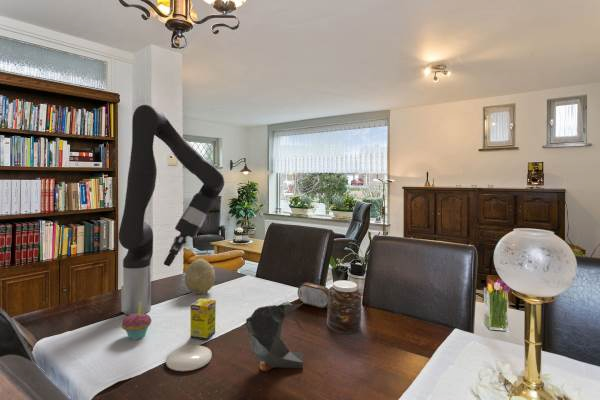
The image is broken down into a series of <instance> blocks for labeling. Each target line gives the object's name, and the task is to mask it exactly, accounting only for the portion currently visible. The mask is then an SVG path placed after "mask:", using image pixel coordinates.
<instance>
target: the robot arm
mask: <svg viewBox="0 0 600 400" xmlns="http://www.w3.org/2000/svg"><path fill="white" fill-rule="evenodd" d="M131 122H132V123H131V124H132V127H131V128H132V129H131V131H132V132H131V139H132V140H131V151H130V157H129V166H128V173H127V180H126V181H127V182H126V193H125V200H124V210H123V213H122V218H121V222H120V226H119V231H118V241H119V243H120V245H121V246H122V247H123V248H124V249H126V250H127V253H126V255H125V257H124V258H123V259H122V276H123V278H122V279H123V280H122V281H123V283H122V284H123V285H121V287H120V290H121V291H120V295H121V297H120V298H121V301H120V303H121V312H122V313H124V315H127V316H129V315H131V314H135V313H139V304H140V302H141V300H142V307H141V313H144V314H147V313H148V312H150V311H151V309H152V284H151V283H152V281H151V278H152V274H151V271H152V269H151V268H152V267H151V266H152V265H151V262H152V257H153V253H154V251H153V250H154V247H153V246H154V232H153V228H152V227H151V225H150V224H149V223H147V222H145V214H146V210H147V208H148V205H149V203H150V201H151V198H152V197H153V194H154V192H155V188H156V181H157V174H158V173H157V171H158V170H157V163H156V158H155V154H154V141H155V140H154V139H155V137H156V138H158V139H159V140H161V141H162V142H163V143H164V144H165V145H166V146H167V147H168V148H169V149H170V150H171V152H172V154H173V155H174V156H175V158H176V159H177V160H178V162H179V163H181V165H182V166H183V167H185V168H186V169H187V170H188V172H190V173H191V174H192V175H195V176H196V178H197V179H198V180H199V181H200V182H201V183H202V186H201V187H200V190H199V191H198V192H197V193H195V194H194V196H193V197H192V198H191V201H190V203H189V204H188V206H187V207H186V208H185V210H184V211H183V213H182V215H181V217H180V219H179V220H178V222H177V223H176V226H175V228H174V229H175V231H177V232H179V235H178V236H175V238H174V239H173V242H172V244H171V246H170V249H169V252H168V255H166V258H165V260H164V262H163V265H165V266H167V267H170V266H171V265H172V264H173V262H174V260H175V258H176V256H178V255H179V252H181V251H182V249H183V248H184V247H185V245H186V243H187V237H189V238H192V239H195V238H196V237H197V235H198V233H199V231H200V229H201V228H202V226H203V224H204V222H205V220H206V217H207V215H208V213H209V211H210V210H211V208H212V206H213V204H214V202H215V201H216V199H217V198H218V196H219V195H220V194H221V193H222V190H223V189H224V186H225V179H224V176H223V174H222V173H221V171H219V169H217V168H216V167H215V166H214V165H212V164H211V163H210V162H208V160H206V159H205V157H204V156H203V155H202V154H201V153H199V151H198V150H196V149H195V147H194V146H192V144H190V143H189V142H188V141H187V140H186V139H185V138H184V137H183V136H182V135H181V134H180V133H179V132H178V131H177V129H176V127H174V126H173V124H172V123H171V121H170V120H169V119H168V117H167V116H166V115H165V114H164V112H163V111H161V110H160V109H158V108H156V107H153V106H151V105H148V104H141V105H139V106H138V107H136V109H135V110H134V112H133V115H132V121H131Z"/></svg>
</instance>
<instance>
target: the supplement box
mask: <svg viewBox="0 0 600 400" xmlns="http://www.w3.org/2000/svg"><path fill="white" fill-rule="evenodd" d="M216 315H217V314H216V299H209V298H208V299H207V298H199V299H197V300H196V301H194V302H192V303H191V304H190V339H194V340H201V341H208V340H209V339H210V338H212V336H213V335H214V334H215V333H216Z"/></svg>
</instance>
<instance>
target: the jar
mask: <svg viewBox="0 0 600 400" xmlns="http://www.w3.org/2000/svg"><path fill="white" fill-rule="evenodd" d="M328 289H329V291H328V306H327V307H326V308H327V310H326V313H327V314H326V326H327V328H328V329H329V330H330V331H332V332H334V333H338V334H342V335H352V334H356V333H359V332H360V331H361V329H362V325H361V324H362V301H363V300H362V299H363V297H362V291H361V289H359V288H358V284H357V283H356V282H354V281H351V280H345V279H344V280H335V281H334V282H333V283H332V286H330V287H329V288H328Z"/></svg>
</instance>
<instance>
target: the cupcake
mask: <svg viewBox="0 0 600 400" xmlns="http://www.w3.org/2000/svg"><path fill="white" fill-rule="evenodd" d="M141 307H142V300H141V302H140V304H139V313H135V314H131V315H127V316H126V317H124V318H123V320H122V322H121V323H120V327H121V329H123V330H124V331H126V334H127V336H128V339H130V340H135V341H136V340H140V339H142V338H144V337H146V335H147V331H148V329H149V327H150V325H151V324H152V319H151V316H150V315H148V314H147V313H141Z"/></svg>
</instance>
